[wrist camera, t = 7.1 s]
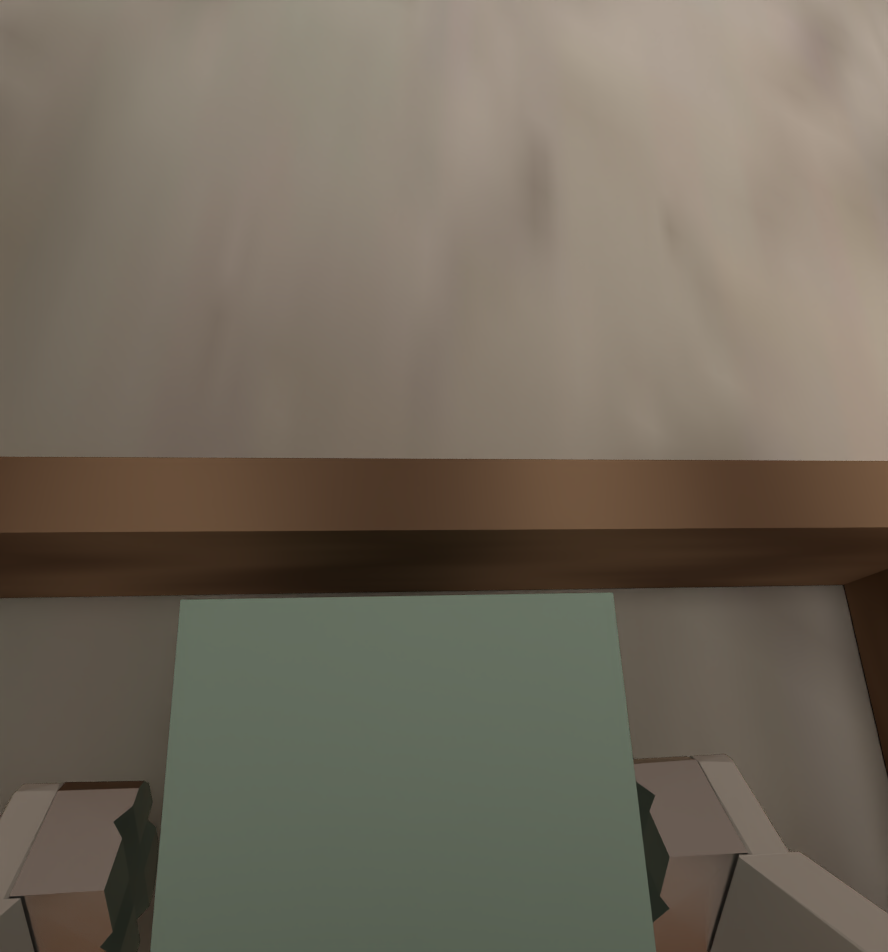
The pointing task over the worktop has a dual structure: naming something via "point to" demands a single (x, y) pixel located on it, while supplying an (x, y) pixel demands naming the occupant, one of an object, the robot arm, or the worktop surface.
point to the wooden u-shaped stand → (448, 529)
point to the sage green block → (400, 778)
